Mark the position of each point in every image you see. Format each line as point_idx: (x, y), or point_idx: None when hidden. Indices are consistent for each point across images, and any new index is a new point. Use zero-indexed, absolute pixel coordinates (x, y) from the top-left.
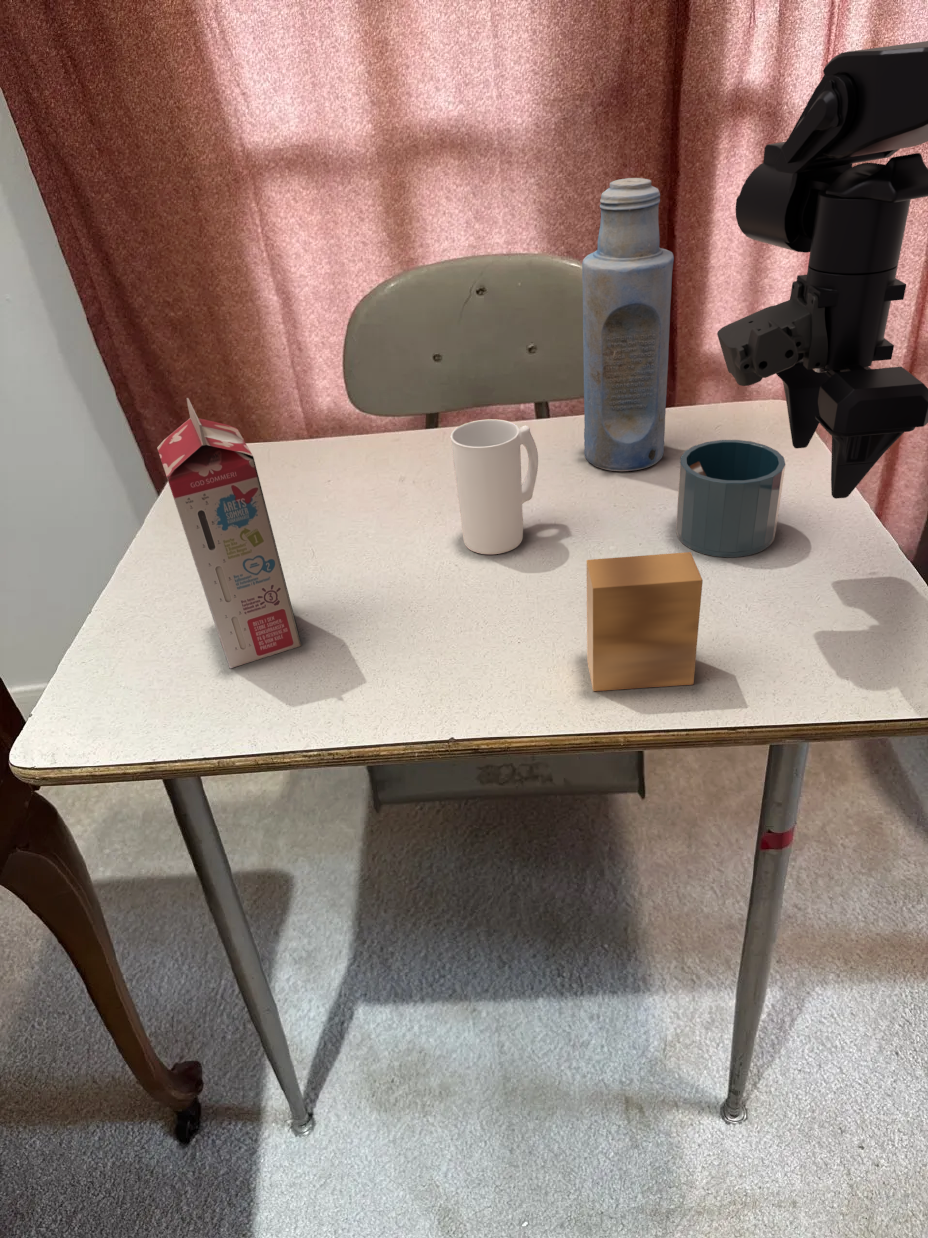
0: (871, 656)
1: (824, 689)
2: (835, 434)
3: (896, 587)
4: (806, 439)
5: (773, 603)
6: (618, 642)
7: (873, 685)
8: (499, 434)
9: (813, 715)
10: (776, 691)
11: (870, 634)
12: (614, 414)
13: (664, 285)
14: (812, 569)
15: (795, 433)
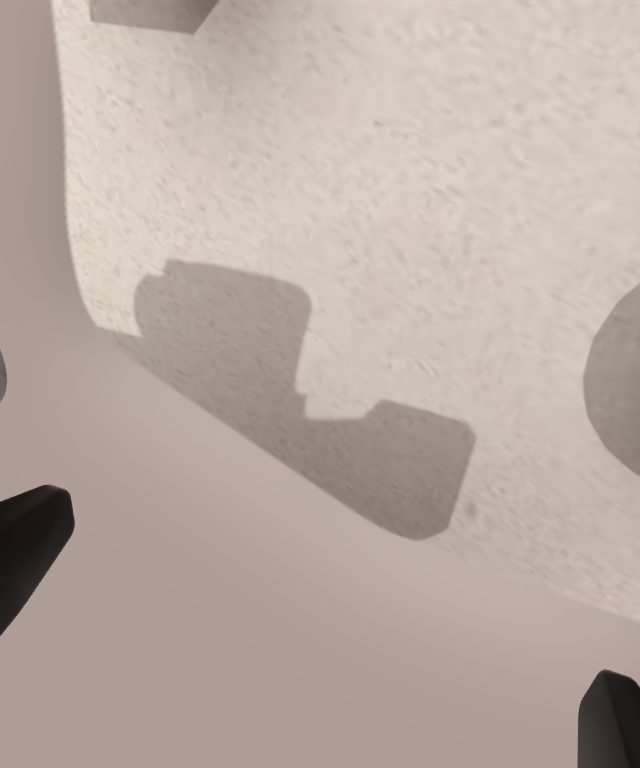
0: (220, 347)
1: (140, 215)
2: None
3: (408, 512)
4: (584, 749)
5: (440, 264)
6: None
7: (146, 304)
8: None
9: (73, 155)
10: (137, 113)
11: (280, 384)
12: None
13: None
14: (542, 422)
15: (619, 760)
